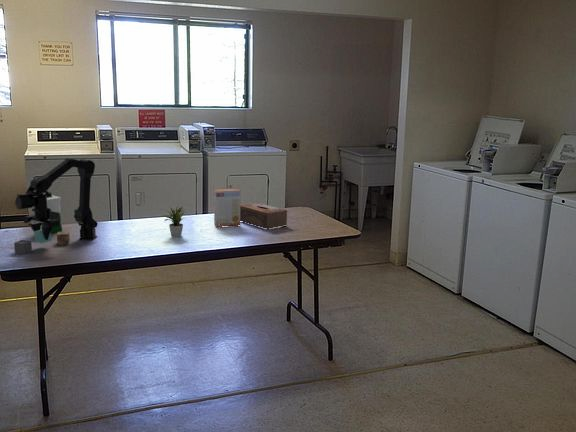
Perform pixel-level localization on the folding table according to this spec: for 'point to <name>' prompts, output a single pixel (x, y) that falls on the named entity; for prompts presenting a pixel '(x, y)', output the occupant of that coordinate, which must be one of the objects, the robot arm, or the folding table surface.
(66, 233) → the walnut block
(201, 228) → the folding table surface
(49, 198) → the milk carton
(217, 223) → the cracker box
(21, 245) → the charcoal block
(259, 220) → the tissue box cover
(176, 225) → the house plant
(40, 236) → the teal block
